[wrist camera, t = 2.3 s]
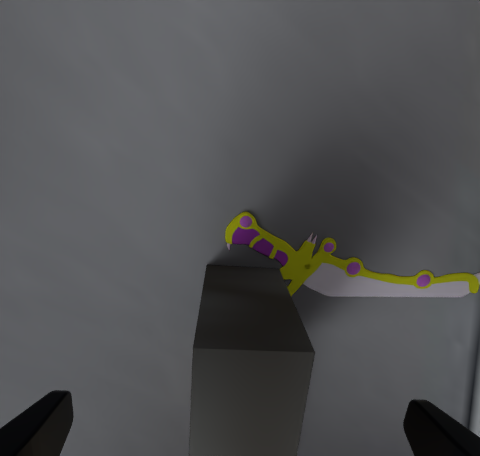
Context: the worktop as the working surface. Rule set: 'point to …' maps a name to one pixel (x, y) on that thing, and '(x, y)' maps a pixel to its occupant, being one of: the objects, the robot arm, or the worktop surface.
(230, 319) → the wooden mallet
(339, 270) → the decorative knife
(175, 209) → the worktop surface
